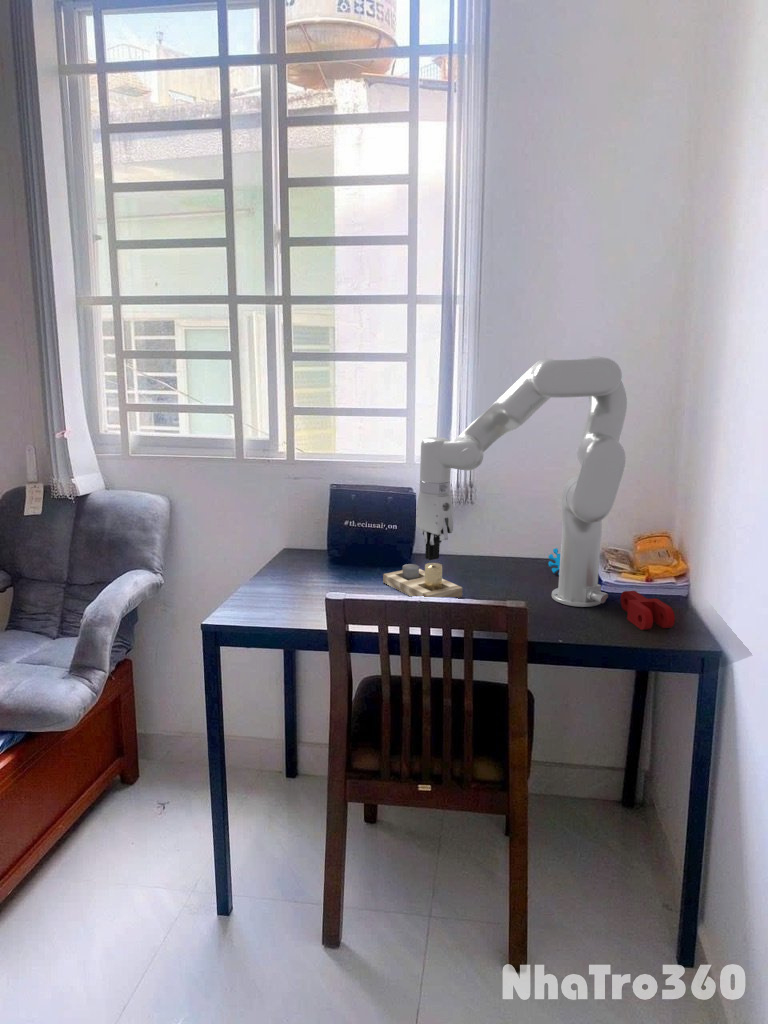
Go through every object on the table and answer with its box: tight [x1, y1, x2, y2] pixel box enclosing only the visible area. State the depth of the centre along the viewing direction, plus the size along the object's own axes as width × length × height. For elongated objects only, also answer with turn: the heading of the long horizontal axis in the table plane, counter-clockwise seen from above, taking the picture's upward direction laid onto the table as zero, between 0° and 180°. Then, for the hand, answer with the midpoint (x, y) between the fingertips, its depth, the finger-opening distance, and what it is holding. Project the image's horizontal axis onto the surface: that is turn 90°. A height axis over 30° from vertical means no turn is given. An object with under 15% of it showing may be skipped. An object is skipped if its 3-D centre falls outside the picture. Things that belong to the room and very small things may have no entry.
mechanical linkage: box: [620, 590, 676, 631], centre depth 173 cm, size 16×7×5 cm, turn 10°
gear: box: [547, 547, 560, 575], centre depth 206 cm, size 11×6×10 cm
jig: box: [382, 563, 463, 599], centre depth 192 cm, size 20×11×5 cm, turn 33°
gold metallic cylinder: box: [424, 562, 443, 591], centre depth 188 cm, size 4×4×8 cm
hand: (432, 558), depth 186 cm, fingers closed
